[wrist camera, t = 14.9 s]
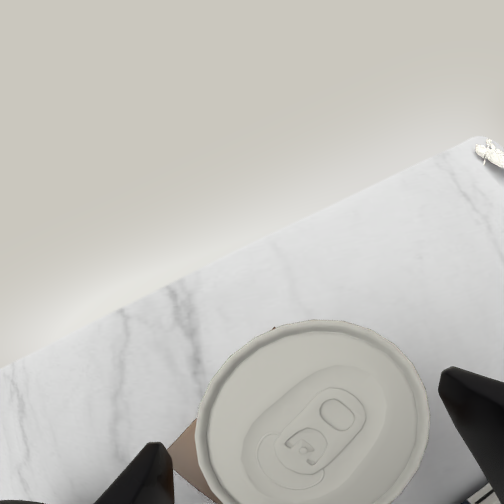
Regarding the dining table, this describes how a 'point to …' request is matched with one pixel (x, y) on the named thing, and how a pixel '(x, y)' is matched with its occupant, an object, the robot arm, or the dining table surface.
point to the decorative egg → (18, 502)
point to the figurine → (491, 153)
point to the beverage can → (313, 418)
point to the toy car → (483, 496)
